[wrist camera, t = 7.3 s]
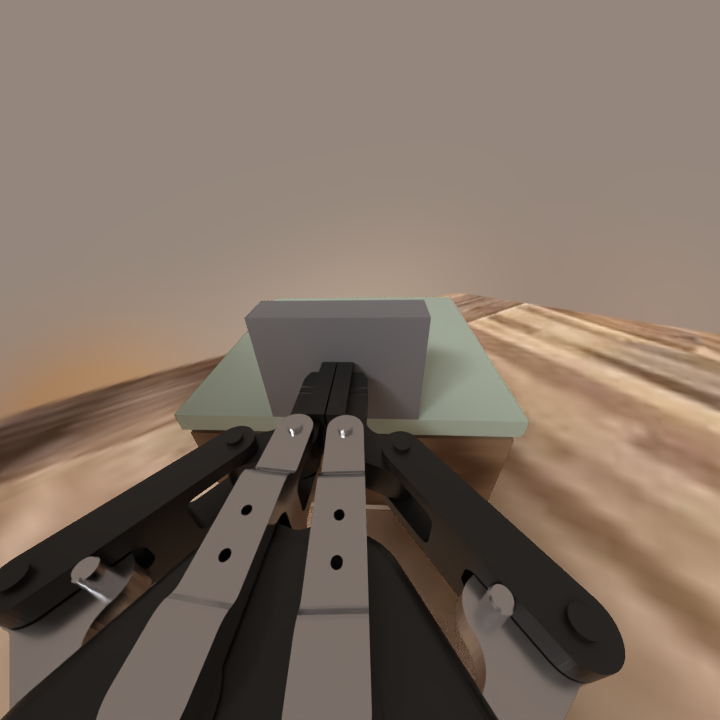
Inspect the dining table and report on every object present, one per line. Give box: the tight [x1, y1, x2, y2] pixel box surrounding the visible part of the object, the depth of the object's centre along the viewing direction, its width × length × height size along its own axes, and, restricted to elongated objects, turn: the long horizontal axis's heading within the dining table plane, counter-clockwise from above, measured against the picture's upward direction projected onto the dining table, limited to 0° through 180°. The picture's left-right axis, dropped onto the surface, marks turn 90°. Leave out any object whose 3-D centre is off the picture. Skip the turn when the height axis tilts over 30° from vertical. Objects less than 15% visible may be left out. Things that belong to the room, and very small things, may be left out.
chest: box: [191, 430, 514, 510], centre depth 25 cm, size 19×18×8 cm
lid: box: [174, 297, 529, 437], centre depth 21 cm, size 20×18×7 cm
